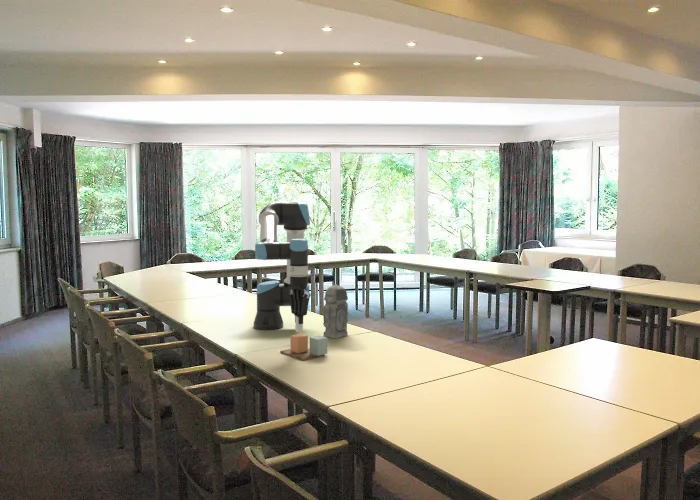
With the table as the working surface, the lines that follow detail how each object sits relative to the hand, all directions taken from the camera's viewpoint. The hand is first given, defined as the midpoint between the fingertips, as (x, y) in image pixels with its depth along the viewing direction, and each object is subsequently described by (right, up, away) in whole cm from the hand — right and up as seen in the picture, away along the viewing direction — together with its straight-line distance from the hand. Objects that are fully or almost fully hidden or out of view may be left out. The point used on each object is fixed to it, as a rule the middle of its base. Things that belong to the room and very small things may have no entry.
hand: (299, 331), depth 235 cm
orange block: (0, -9, +1) cm, 9 cm away
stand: (+1, -10, -1) cm, 10 cm away
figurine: (+14, -7, +33) cm, 37 cm away
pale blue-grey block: (+8, -10, -2) cm, 13 cm away
